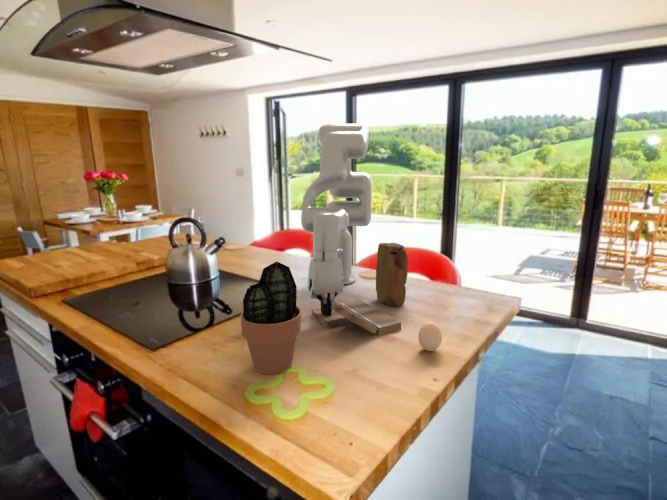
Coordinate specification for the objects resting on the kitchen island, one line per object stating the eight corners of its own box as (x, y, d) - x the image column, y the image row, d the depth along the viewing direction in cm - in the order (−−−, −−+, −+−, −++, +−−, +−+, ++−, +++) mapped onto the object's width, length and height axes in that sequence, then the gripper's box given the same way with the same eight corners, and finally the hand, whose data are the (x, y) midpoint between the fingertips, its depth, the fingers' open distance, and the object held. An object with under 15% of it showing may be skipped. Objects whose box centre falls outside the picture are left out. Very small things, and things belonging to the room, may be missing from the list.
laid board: (339, 309, 125) (339, 303, 124) (359, 305, 128) (360, 299, 128) (379, 334, 107) (379, 327, 107) (400, 328, 111) (401, 321, 110)
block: (373, 298, 135) (375, 241, 131) (392, 295, 138) (394, 240, 133) (389, 308, 125) (391, 248, 121) (409, 305, 128) (412, 246, 124)
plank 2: (330, 307, 110) (334, 301, 110) (354, 320, 115) (357, 315, 115) (349, 320, 101) (353, 313, 101) (374, 334, 106) (378, 327, 107)
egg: (430, 358, 95) (432, 329, 93) (412, 348, 99) (414, 321, 97) (445, 351, 98) (447, 323, 96) (427, 342, 102) (429, 315, 101)
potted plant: (251, 350, 98) (246, 254, 92) (304, 350, 98) (303, 254, 92) (236, 379, 85) (229, 270, 79) (298, 381, 84) (296, 270, 79)
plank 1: (311, 315, 120) (311, 309, 119) (339, 309, 124) (339, 303, 124) (327, 327, 111) (327, 321, 111) (356, 320, 116) (356, 314, 115)
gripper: (341, 249, 118) (341, 306, 122) (297, 254, 111) (298, 315, 115) (355, 254, 112) (354, 314, 116) (308, 260, 105) (309, 323, 109)
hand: (326, 314), depth 116 cm, fingers closed
